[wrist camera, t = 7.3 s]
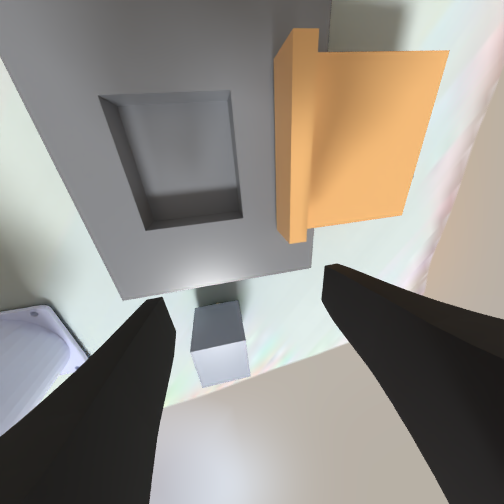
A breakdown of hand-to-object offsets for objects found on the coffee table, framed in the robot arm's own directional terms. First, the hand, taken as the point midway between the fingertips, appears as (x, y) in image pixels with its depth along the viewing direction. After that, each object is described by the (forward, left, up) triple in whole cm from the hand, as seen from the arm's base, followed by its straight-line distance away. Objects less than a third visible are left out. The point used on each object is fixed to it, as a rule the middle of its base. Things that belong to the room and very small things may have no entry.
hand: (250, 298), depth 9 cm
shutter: (+7, +5, -5) cm, 10 cm away
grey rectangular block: (-2, -9, -8) cm, 12 cm away
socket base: (-1, +5, -8) cm, 10 cm away
